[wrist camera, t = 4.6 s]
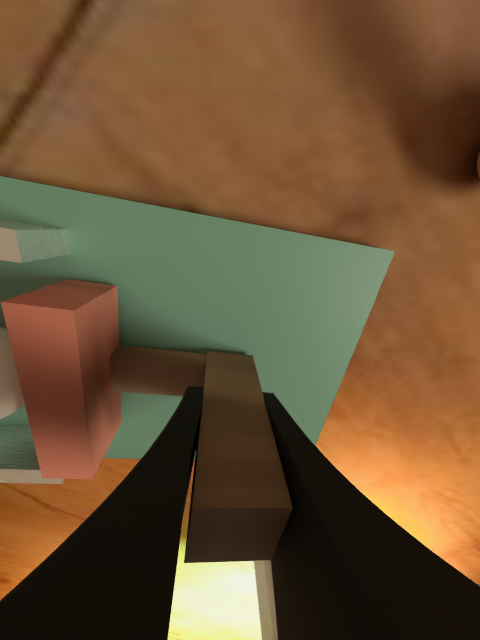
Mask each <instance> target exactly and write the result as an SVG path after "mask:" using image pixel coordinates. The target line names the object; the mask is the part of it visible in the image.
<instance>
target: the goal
mask: <svg viewBox="0 0 480 640" xmlns="http://www.w3.org/2000/svg"><path fill="white" fill-rule="evenodd" d="M63 255H69V245H68V236H67V229H61V228H55V227H49V226H43V225H37V224H31V223H25V222H19V221H13V220H7V219H1V218H0V260H4V261H11V262H18V263H24V262H30V261H35V260H41V259H47V258H52V257H58V256H63ZM64 481H65V479H46V478H42V475H41V471H40V466H39V462H38V458H37V454H36V449H35V445H34V441H33V437H32V432H31V428H30V425H20V424H0V483H40V484H63V483H64Z"/></svg>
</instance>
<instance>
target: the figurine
mask: <svg viewBox="0 0 480 640" xmlns="http://www.w3.org/2000/svg"><path fill="white" fill-rule="evenodd" d="M477 172H478V176H479V178H480V151H479V154H478V159H477Z"/></svg>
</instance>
